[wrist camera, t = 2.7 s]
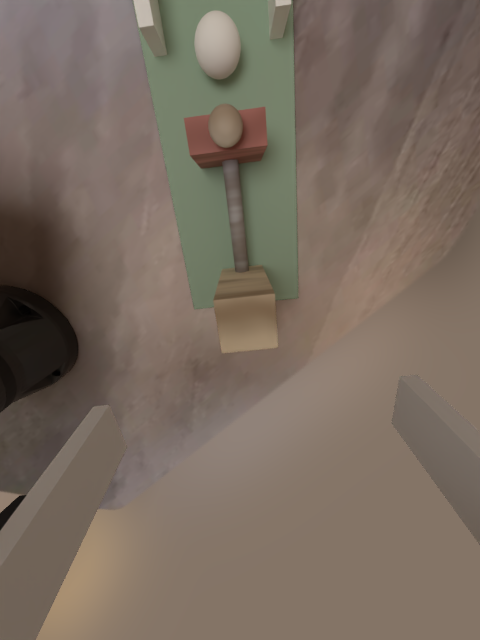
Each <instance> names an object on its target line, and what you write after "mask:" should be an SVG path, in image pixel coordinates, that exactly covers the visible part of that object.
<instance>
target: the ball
mask: <svg viewBox="0 0 480 640" xmlns="http://www.w3.org/2000/svg"><path fill="white" fill-rule="evenodd" d="M194 46H195V53H196V57H197V60H198V63H199V65H200V67H201V68H202V70H203V71H204V72H205V73H206V74H207V75H208V76H210V77H211V78H214V79H225V78H227V77H228V76H230V75H231V74H232V73H233V72H234V70H235V69H236V67H237V64H238V62H239V58H240V52H241V42H240V36H239V32H238V29H237V27H236V25H235V23H234V22H233V20H232V19H231V18H230V17H229V16H228V15H227V14H226V13H224V12H222V11H217V10H215V11H210V12H208V13H207V14H205V15H204V16H203V17H202V19H201V20H200V22H199V23H198V26H197V29H196V32H195V39H194Z"/></svg>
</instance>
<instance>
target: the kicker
mask: <svg viewBox="0 0 480 640" xmlns="http://www.w3.org/2000/svg"><path fill="white" fill-rule="evenodd" d="M184 123H185V129H186V135H187V141H188V147H189V153H190V156H191V158H192V159H193V160H194V161H195V162H196V163H197V165H198V166H199V167H200V168H201V169H202V168H210V167H217V166H223V174H224V182H225V190H226V199H227V207H228V215H229V223H230V232H231V240H232V248H233V257H234V265H235V268H228V269H222V271H221V275H220V278H219V282H218V285H217V289H216V292H215V296H214V299H213V303H214V309H215V315H216V321H217V327H218V333H219V339H220V345H221V351H222V353H231V352H241V351H251V350H261V349H271V348H278V338H277V320H276V303H275V293H274V290H273V288H272V286H271V284H270V282H269V279H268V277H267V275H266V273H265V271H264V268H263V266H262V265H254V266H249V265H248V255H247V245H246V235H245V224H244V214H243V204H242V194H241V184H240V173H239V164H240V163H248V162H256V161H261V159H262V157H263V155H264V152H265V150H266V148H267V145H268V144H267V127H266V109H265V107H259V108H252V109H245V110H237V109H236V108H235V107H234V106H232V105H230V104H220V105H218V106H216V107H215V108H214V109H213V111H212V112H211V114H209V115H201V116H194V117H187V118H184Z"/></svg>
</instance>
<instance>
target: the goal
mask: <svg viewBox="0 0 480 640" xmlns="http://www.w3.org/2000/svg"><path fill="white" fill-rule="evenodd" d="M133 1H134V6H135V11H136V16H137V21H138V26H139V29H140V31H141V33H142V34H143V36H144V38H145V40H146V42H147V44H148V46H149V47H150V49H151V51H152V53H153V55H154V57H157V56H164V55H167V51H166V45H165V39H164V34H163V28H162V22H161V16H160V10H159V4H158V0H133ZM290 7H291V0H268V16H269V38H270V40H272V39H278V38H283V34H284V31H285V27H286V23H287V19H288V15H289V11H290Z"/></svg>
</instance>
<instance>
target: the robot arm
mask: <svg viewBox="0 0 480 640" xmlns="http://www.w3.org/2000/svg"><path fill="white" fill-rule="evenodd" d="M77 352H78V346H77V340H76V337H75V334H74V331H73V329H72V327H71V326H70V324H69V322H68V321H67V320H66V318H65V317H64V316H63V315H62V314H61V312H60V311H59V310H58V309H56V308H55V307H54V306H53V305H52V304H50V303H49V302H48V301H46V300H45V299H43V298H41V297H40V296H38V295H36V294H34V293H32V292H29V291H27V290H24V289H20V288H16V287H10V286H0V412H2V411H3V410H4V409H5V408H6V407H8V406H9V405H10V404H11V403H13V402H15V401H17V400H19V399H22V398H24V397H26V396H28V395H30V394H33V393H35V392H37V391H39V390H42V389H44V388H46V387H48V386H50V385H52V384H54V383H55V382H57V381H58V380H60V379H61V378H62V377H63V376H64V375H65V374H66V373H67V372H68V371H69V370H70V369H71V368H72V367H73V365H74V363H75V361H76V358H77ZM392 424H393V426H394V427H395V429H396V430H397V431H398V433H399V434H400V436H401V437H402V438H403V440H404V441H405V442H406V444H407V445H408V447H409V448H410V449H411V451H412V452H413V454H414V455H415V456H416V458H417V459H418V460H419V462H420V463H421V465H422V466H423V467H424V469H425V470H426V471H427V473H428V474H429V475H430V477H431V478H432V480H433V481H434V482H435V484H436V485H437V486H438V488H439V489H440V491H441V492H442V493H443V495H444V496H445V498H446V499H447V500H448V502H449V503H450V504H451V506H452V507H453V509H454V510H455V511H456V513H457V514H458V515H459V517H460V518H461V520H462V521H463V522H464V524H465V525H466V527H467V528H468V529H469V530H470V532H471V533H472V535H473V536H474V538H475V539H476V540H477V542H478V543H479V545H480V431H479V430H478V429H476V428H475V427H474V426H473V425H472V424H471V423H470V422H469V421H468V420H467V419H465V418H464V417H463V416H462V415H461V414H460V413H459V412H458V411H457V410H456V409H454V408H453V407H452V406H451V405H450V404H449V403H448V402H447V401H446V400H444V399H443V398H442V397H441V396H440V395H439V394H438V393H437V392H436V391H435V390H434V389H432V388H431V387H430V386H429V385H428V384H427V383H426V382H425V381H423V379H421V378H420V377H419V376H418V375H411V376H401V377H399V383H398V389H397V395H396V401H395V406H394V412H393V418H392ZM126 449H127V445H126V443H125V440H124V438H123V436H122V433H121V431H120V429H119V426H118V424H117V422H116V419H115V417H114V414H113V412H112V410H111V407H110V405H103V406H93V408H92V409H91V410H90V412H89V413H88V414H87V416H86V417H85V418H84V420H83V421H82V422H81V424H80V425H79V426H78V428H77V429H76V430H75V432H74V433H73V434H72V436H71V437H70V438H69V440H68V441H67V442H66V444H65V445H64V446H63V448H62V449H61V450H60V452H59V453H58V454H57V456H56V457H55V458H54V460H53V461H52V462H51V464H50V465H49V466H48V468H47V469H46V470H45V472H44V473H43V474H42V476H41V477H40V478H39V480H38V481H37V482H36V484H35V485H34V486H33V488H32V489H31V490H30V492H29V493H28V494H27V495H22V496H19V497H18V498H16V499H15V500H14V501H13V502H12V503H11V504H10V505H9V506H8V507H7V508H5V509H4V510H3V511H2V512H1V513H0V640H36V638H37V636H38V633H39V631H40V629H41V627H42V625H43V623H44V621H45V619H46V617H47V614H48V613H49V611H50V608H51V606H52V604H53V602H54V600H55V598H56V596H57V593H58V592H59V589H60V587H61V585H62V583H63V581H64V579H65V577H66V575H67V573H68V571H69V568H70V566H71V564H72V562H73V560H74V558H75V556H76V554H77V552H78V549H79V547H80V545H81V543H82V541H83V539H84V537H85V535H86V533H87V531H88V528H89V526H90V524H91V522H92V520H93V518H94V516H95V514H96V512H97V510H98V507H99V505H100V503H101V501H102V499H103V497H104V495H105V493H106V491H107V489H108V486H109V484H110V482H111V480H112V478H113V476H114V474H115V472H116V470H117V468H118V465H119V463H120V461H121V459H122V457H123V455H124V453H125V451H126Z"/></svg>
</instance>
